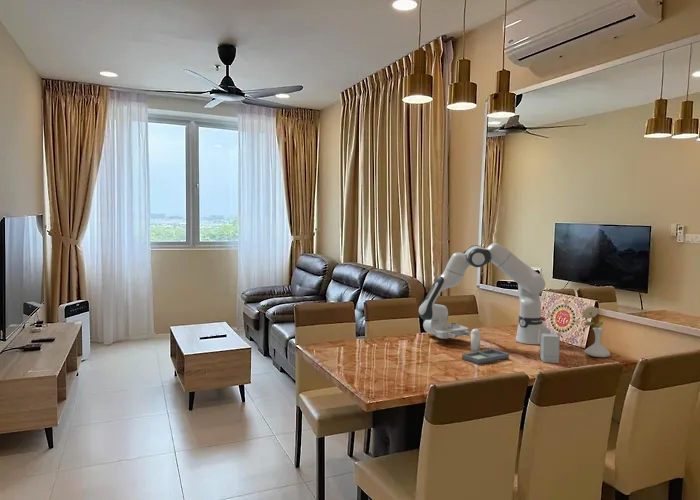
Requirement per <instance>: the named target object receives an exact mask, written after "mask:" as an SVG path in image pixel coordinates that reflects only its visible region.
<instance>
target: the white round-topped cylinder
mask: <svg viewBox="0 0 700 500" xmlns="http://www.w3.org/2000/svg"><path fill="white" fill-rule="evenodd" d="M470 351H471V352H477V351H481V330H480V329H478V328H473V329H471V331H470Z"/></svg>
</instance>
